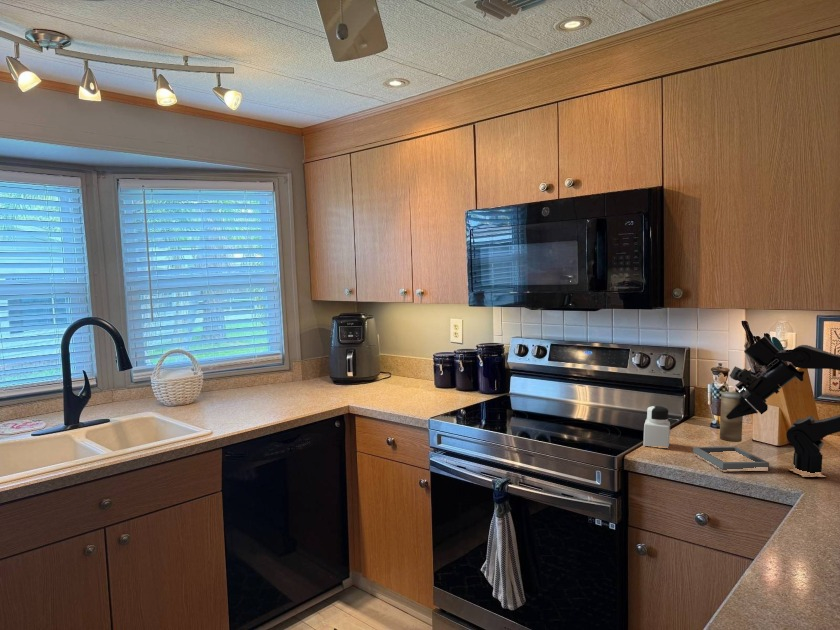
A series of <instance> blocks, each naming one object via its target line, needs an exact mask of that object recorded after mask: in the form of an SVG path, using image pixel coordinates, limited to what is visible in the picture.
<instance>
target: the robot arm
mask: <svg viewBox="0 0 840 630" xmlns="http://www.w3.org/2000/svg"><path fill="white" fill-rule="evenodd" d="M744 353H745V354H746V355H747V356H748V357H749V359H751V360H752V361H753V362H754V363H755V364H756V365H757V366H758V367H759V368H760V367H765V368H767V367H769V366H770V365H771V364H772V363H773V362H775V361H776V362H775V363H774V364H772V366H770V367H769V368H768V369H766V370H765V371H763V372H762V373H756V374H752V372H751V370H748V369H746V368H739V366H738V367H737V366H734V368H732V369H731V370H732V371H731V372H730V374H729V377H730V379H732V380H734V381H737V382H738V383H736V384H735V387H736V388H735V389H734V392H737V393H742V394H743V397H744V398H743V397H742V396H741V395H739V403H738V404H737V405H736V406H735V407H734V408H733V409H732V410H731V411H730V412H729V413H728V415H727V416H726V418H727V419H729V420H730V419H733V418H737V417H741V416H743V417H744V416H749V415H754V414H758V413H759V414H761V415H763V414H764V413H765V412H767V411H768V409H769V406H768V404H767V402H768V401H767V400H768V398H770V397H771V396H773V394H776V395H777V394H779V393H780V390H781V389H782V388H783V387H785V385H787V384H788V383H790V382H791V381H792V380H793V379H795V378H796V379H797V380H798V381H799V382H804V374H805V371H804V370H802V371H801V370H800V371H799V370H798V368H799V369H806V370H807V369H809V370H810V369H812V370H825V369H826V370H827V369H828V370H833V371H834V370H835V371H840V354H835V353H831V352H828V351H826V350H823V349H820V348H817V347H814V346H811V345H807V344H801V345H798V346H796V347H794V348H793V349H781V350H780V349H779V348H777V346H776V345H774V344H773V343H772V341H770V338H768V337H767V336H765V335H764V336H763V337H761V338H760V339H759V340H757V341H756V342H755V343H752V344H751V345H750V346H748V347H747V348H746V349H745V350H744ZM785 362H787V363H789V364H788V365H787V363H785ZM839 432H840V414H838V415H834V416H830V417H826V418H824V419H822V418H821V419H815V417H814V415H812V414H810V415H809V416H807V417H805V418H801V419H800V418H797V419H796V420H795V421H794V422H793V424H791V425H790V427H789V428H788V430H787V431H786V434H785V435H786V439H787V442H789V444H791V446H793V449H794V453H793V463H792V465H793V464H794V465H795V468H797V469H799V470H802V471H807V472H810V473H815V472H822V471H823V457H824V456H823V454H822V453H821V449H822V447H823V446H824V444H825V443H824V442H823V441H822V439H824V438H826V437H827V436H829V435H833V434H836V433H839Z"/></svg>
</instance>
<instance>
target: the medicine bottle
mask: <svg viewBox="0 0 840 630" xmlns="http://www.w3.org/2000/svg"><path fill="white" fill-rule="evenodd" d="M646 411H647V412H646V413H647V414H646V419H645V422H644V426H643V444H642V445H645V446H662V447H669V448H670V433H671V422H670V421H669V409H668V408H666V407H664V406H660V405H652V406H651V405H650V406H649V407H647V409H646Z"/></svg>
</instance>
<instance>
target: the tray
mask: <svg viewBox="0 0 840 630" xmlns="http://www.w3.org/2000/svg"><path fill="white" fill-rule="evenodd" d="M692 449H693V450H692V453H693V452H694V453H695V454H697V455H699V456H700V457H702V458H704V459H705V460H707V461H709V462H711V463H712V464H714V465H716V466H717V467H719V468H720V469H722V470H727V469H743V468H754V467H755V468H756V467H769V468H770V462H768V461H767V460H764V459H762V458H760V457H758V456H756V455H754V454H752V453H750V452H749V451H747V450H744V449H741V448H740V447H738V446H693V447H692ZM723 451H736V452H738V453H739V454H742V455H743V456H746V457H747V458H749V459H751V460H753V461H755V462H723V461H722V460H720V459H718V458H716V457H714V456H712V455H711V454H709V453H710V452H723Z"/></svg>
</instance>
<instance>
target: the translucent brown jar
mask: <svg viewBox="0 0 840 630" xmlns="http://www.w3.org/2000/svg"><path fill="white" fill-rule="evenodd" d="M739 395H741V396H742V397H743V394H742V393H737V392H735V391H722V392H721V396H720V416H719V417H720V419H719V420H720V422H719V439H720V440H721V441H724V442H729V443H741V442H742V441H743V440H742V438H743V418H744V416H741V417H737V418H733V419H730V420H729V419H727V418H726V416H727V415H728V413H729V412H730V411H731V410H732V409H733V408H734V407H735V406H736V405H737V404H738V403H739ZM743 398H744V397H743Z"/></svg>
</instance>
